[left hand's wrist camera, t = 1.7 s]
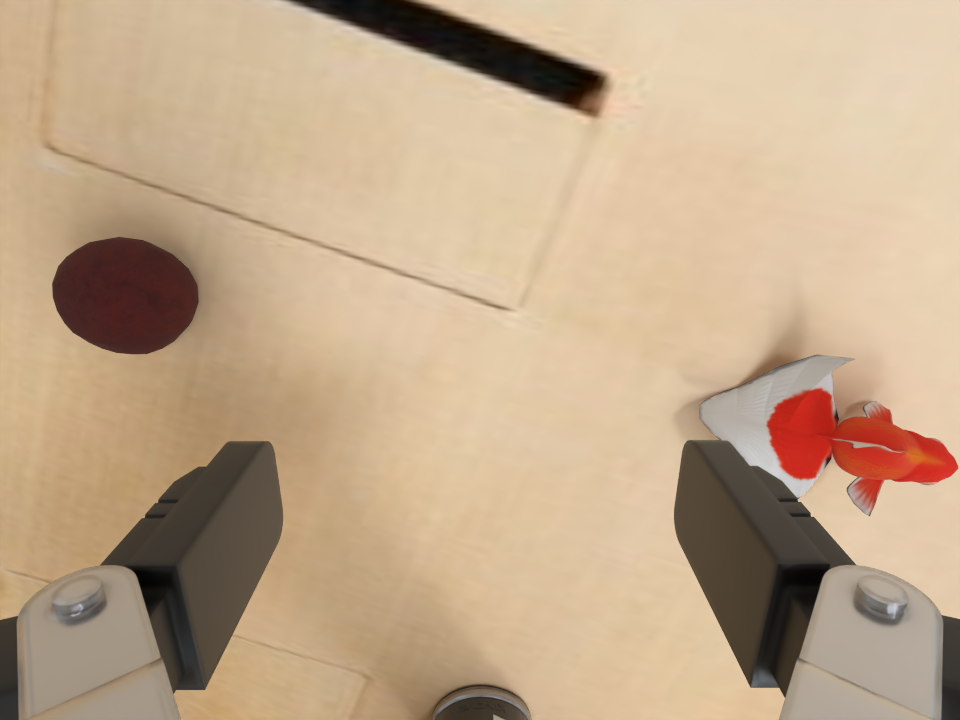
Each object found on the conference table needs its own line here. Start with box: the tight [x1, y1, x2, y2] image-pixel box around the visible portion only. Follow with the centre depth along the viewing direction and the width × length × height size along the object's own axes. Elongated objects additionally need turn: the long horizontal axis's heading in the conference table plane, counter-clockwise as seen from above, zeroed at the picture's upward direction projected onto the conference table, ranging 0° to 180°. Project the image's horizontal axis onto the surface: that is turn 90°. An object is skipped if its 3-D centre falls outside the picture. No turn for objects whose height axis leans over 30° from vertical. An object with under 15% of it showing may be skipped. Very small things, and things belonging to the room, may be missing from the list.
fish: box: [699, 355, 958, 516], centre depth 40 cm, size 11×16×10 cm
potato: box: [52, 237, 198, 354], centre depth 36 cm, size 7×8×7 cm
